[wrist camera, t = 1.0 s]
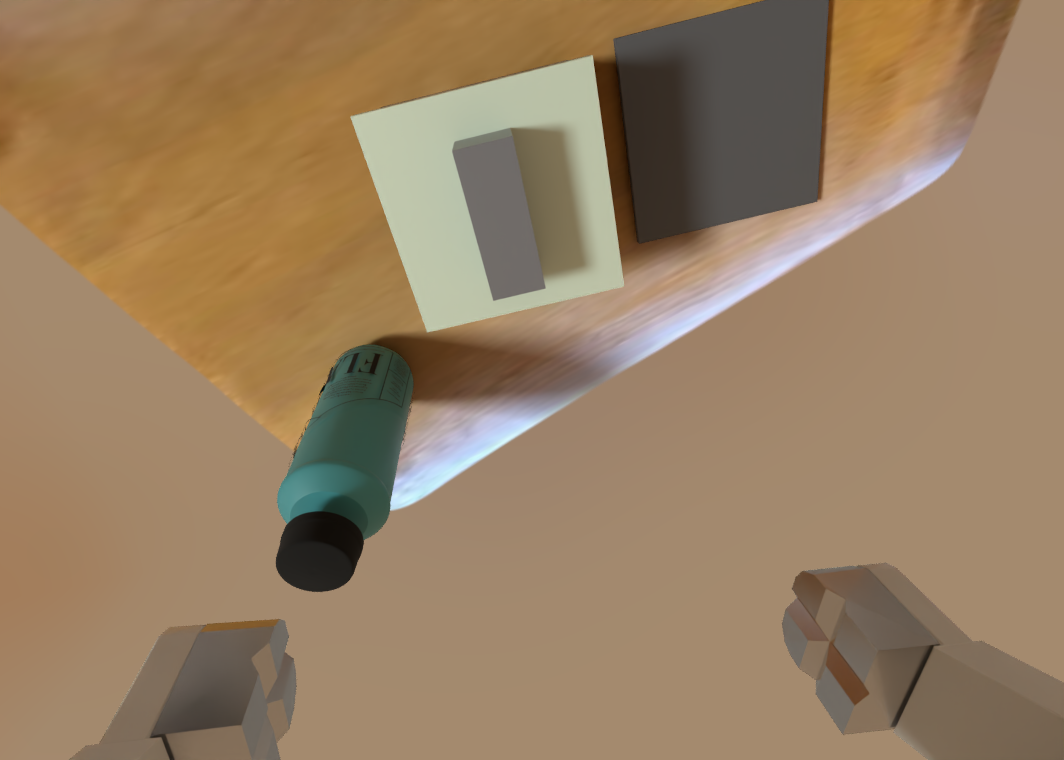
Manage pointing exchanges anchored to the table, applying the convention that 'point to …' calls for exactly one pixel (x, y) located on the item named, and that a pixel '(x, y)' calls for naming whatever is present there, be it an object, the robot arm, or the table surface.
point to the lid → (497, 193)
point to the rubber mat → (723, 115)
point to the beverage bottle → (344, 468)
